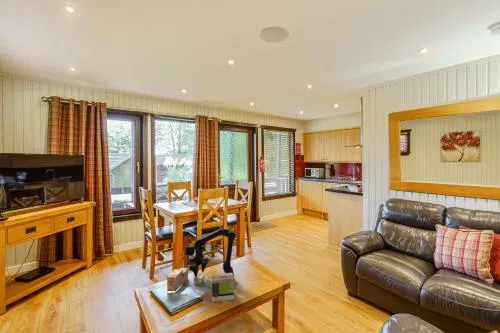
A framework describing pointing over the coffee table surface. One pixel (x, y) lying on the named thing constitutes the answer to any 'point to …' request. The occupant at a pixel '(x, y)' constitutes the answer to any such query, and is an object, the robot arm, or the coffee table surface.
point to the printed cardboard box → (177, 279)
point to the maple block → (199, 279)
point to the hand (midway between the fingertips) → (199, 274)
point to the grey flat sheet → (200, 288)
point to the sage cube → (209, 281)
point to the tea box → (222, 287)
